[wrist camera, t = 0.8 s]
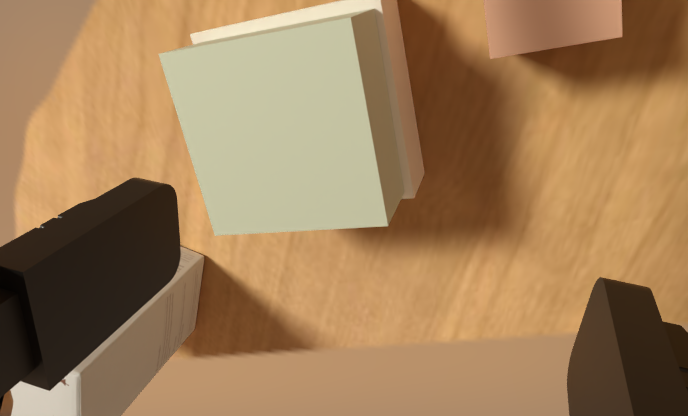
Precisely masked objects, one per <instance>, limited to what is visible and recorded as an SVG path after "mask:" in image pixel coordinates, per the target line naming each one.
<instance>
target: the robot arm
mask: <svg viewBox="0 0 688 416" xmlns="http://www.w3.org/2000/svg"><path fill="white" fill-rule="evenodd" d="M180 257H181V249H180V234H179V220H178V206H177V196H176V192H175V190H174V188H173V187H172V186H171V185H168V184H164V183H159V182H154V181H150V180H145V179H140V178H132V179H129V180H128V181H126V182H124V183H122V184H120V185H119V186H117V187H115V188H113V189H112V190H110V191H108V192H106V193H104V194H103V195H101V196H99V197H97V198H96V199H93V200H89V201H86V202H83V203H80V204H78V205H76V206H74V207H72V208H70V209H69V210H67V211H65V212H63V213H61V214H60V215H58V218H52V219H50V220H49V221H47V222H45V223H43V224H41V225H40V228H34V229H32V230H31V231H29V232H27V233H25V234H23V235H22V236H20V237H18V238H16V239H14V240H12V241H11V242H9V243H7V244H5V245H3V246H2V247H0V416H11V413H12V409H13V397H12V393H11V390H10V389H12V388H13V387H14V386H15V385H16V384H18V383H19V382H20V381H21V382H24V383H27V384H30V385H33V386H36V387H39V388H42V389H45V390H48V391H50V390H51V389H53V388H54V387H55V386H56V385H57V384H58V383H59V382H60V381H61V380H62V379H64V378H65V377H66V376H67V375H68V374H69V373H70V372H71V371H72V370H73V369H75V368H76V367H77V366H78V365H79V364H80V363H81V362H82V361H83V360H84V359H86V358H87V357H88V356H89V355H90V354H91V353H92V352H93V351H94V350H95V349H97V348H98V347H99V346H100V345H101V344H102V343H103V342H104V341H105V340H106V339H108V338H109V337H110V336H111V335H112V334H113V333H114V332H115V331H116V330H117V329H119V328H120V327H121V326H122V325H123V324H124V323H125V322H126V321H127V320H129V319H130V318H131V317H132V316H133V315H134V314H135V313H136V312H137V311H138V310H140V309H141V308H142V307H143V306H144V305H145V304H146V303H147V302H148V301H149V300H151V299H152V298H153V297H154V296H155V295H156V294H157V293H158V292H159V291H160V290H162V289H163V288H164V287H165V286H166V285H167V284H168V283H169V282H170V281H171V280H172V279H173V277H174V275H175V274H176V272H177V269H178V266H179V263H180ZM567 391H568V403H569V415H570V416H688V332H686V330H685V329H684V328H683V327H682V326H680V325H676V324H671V323H667V322H663V321H662V319H661V316H660V313H659V310H658V308H657V305H656V302H655V299H654V296H653V294H652V291H651V289H650V288H648V287H644V286H639V285H635V284H630V283H625V282H621V281H616V280H611V279H606V278H602V277H600V278H599V279H598V280H597V281H596V283H595V285H594V287H593V290H592V292H591V295H590V298H589V301H588V304H587V307H586V310H585V313H584V316H583V319H582V322H581V325H580V328H579V331H578V334H577V337H576V340H575V343H574V346H573V349H572V353H571V357H570V362H569V367H568V376H567Z"/></svg>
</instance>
